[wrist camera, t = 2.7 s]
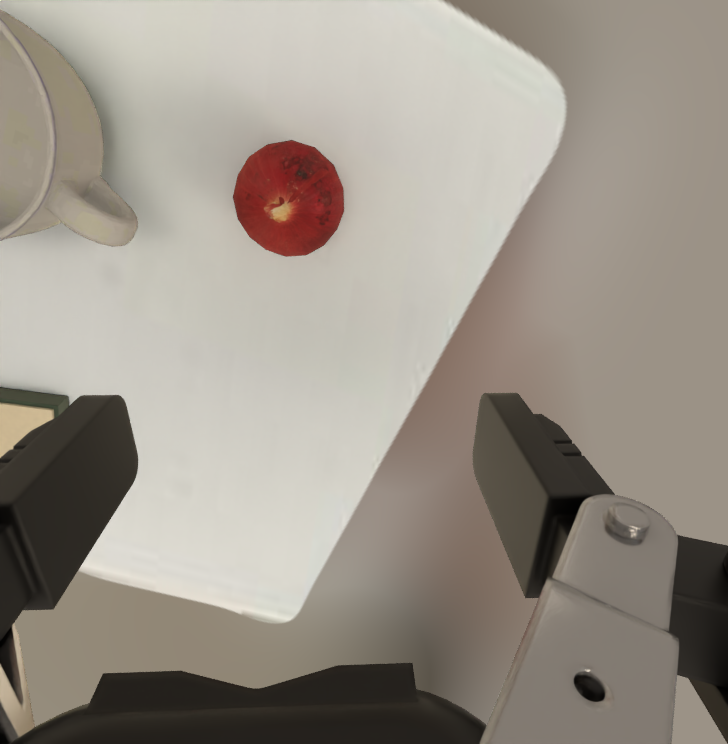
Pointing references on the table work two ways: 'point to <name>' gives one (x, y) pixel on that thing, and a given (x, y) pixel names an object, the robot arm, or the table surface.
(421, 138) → the table surface
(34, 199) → the teacup
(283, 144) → the pomegranate
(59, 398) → the notebook
